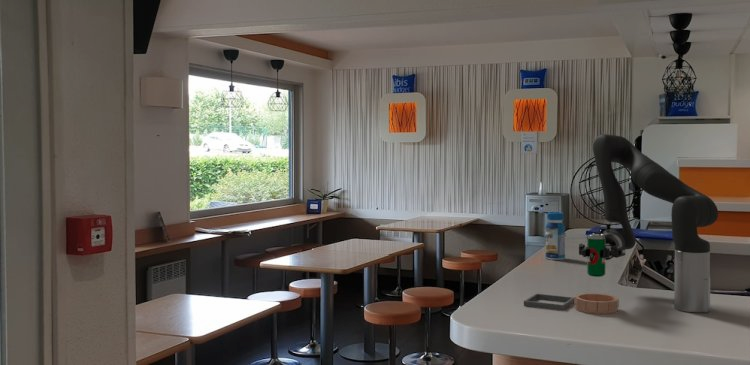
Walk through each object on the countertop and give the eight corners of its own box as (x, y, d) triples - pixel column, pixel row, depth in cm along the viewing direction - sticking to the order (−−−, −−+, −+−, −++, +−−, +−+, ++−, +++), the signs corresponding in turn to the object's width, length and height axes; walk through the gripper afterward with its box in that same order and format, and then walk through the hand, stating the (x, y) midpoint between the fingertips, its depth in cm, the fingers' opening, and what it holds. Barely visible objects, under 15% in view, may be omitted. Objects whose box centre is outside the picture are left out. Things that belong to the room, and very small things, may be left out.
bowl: (621, 307, 198) (622, 295, 198) (613, 316, 188) (613, 303, 188) (580, 303, 204) (581, 291, 204) (570, 311, 194) (570, 299, 194)
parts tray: (574, 302, 205) (574, 297, 205) (563, 310, 195) (563, 305, 195) (536, 298, 212) (536, 293, 211) (523, 305, 201) (523, 300, 201)
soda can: (606, 277, 193) (606, 236, 192) (588, 276, 194) (588, 235, 193) (604, 273, 198) (604, 233, 197) (586, 273, 199) (586, 233, 198)
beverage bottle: (567, 260, 284) (567, 213, 283) (547, 260, 284) (547, 213, 283) (562, 257, 292) (562, 211, 291) (543, 257, 292) (543, 211, 292)
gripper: (584, 232, 211) (569, 239, 197) (631, 235, 204) (620, 243, 189) (583, 256, 212) (569, 265, 197) (631, 259, 204) (620, 269, 190)
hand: (594, 254), depth 193 cm, fingers closed on soda can, 5 cm apart
